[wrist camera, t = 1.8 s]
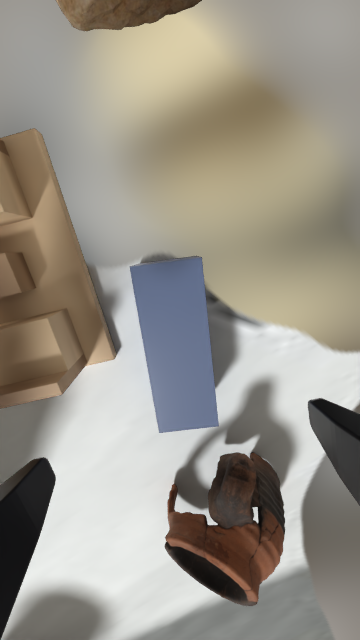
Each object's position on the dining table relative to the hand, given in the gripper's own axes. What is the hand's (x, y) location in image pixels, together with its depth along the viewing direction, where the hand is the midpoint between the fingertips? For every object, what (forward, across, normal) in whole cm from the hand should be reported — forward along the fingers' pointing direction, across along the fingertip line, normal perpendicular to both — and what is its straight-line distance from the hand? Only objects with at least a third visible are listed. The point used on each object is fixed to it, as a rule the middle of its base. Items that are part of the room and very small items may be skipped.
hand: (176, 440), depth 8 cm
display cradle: (+11, +10, -7) cm, 16 cm away
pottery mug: (+11, -1, +14) cm, 18 cm away
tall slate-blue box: (+11, 0, 0) cm, 11 cm away
